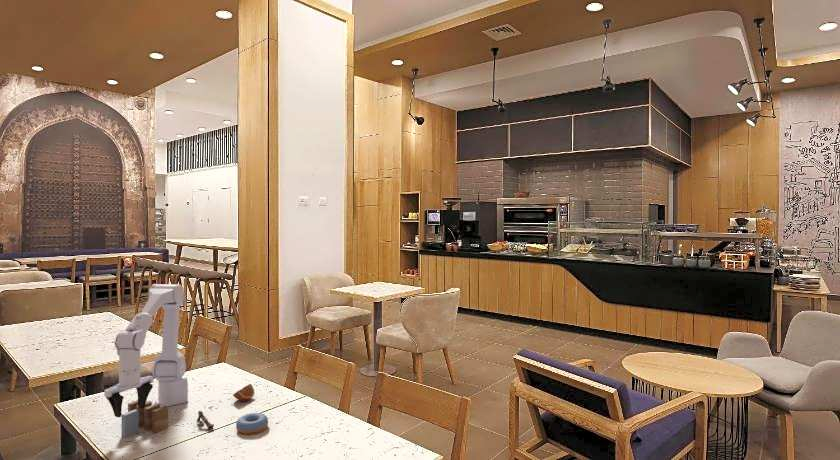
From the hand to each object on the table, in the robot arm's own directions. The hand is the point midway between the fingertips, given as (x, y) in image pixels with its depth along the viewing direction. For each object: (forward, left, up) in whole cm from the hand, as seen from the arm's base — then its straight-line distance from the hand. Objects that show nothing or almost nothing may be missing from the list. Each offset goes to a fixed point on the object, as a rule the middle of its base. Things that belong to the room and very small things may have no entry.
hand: (129, 411), depth 149 cm
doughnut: (-32, +19, -8) cm, 38 cm away
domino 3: (-5, -5, -7) cm, 10 cm away
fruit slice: (-38, -6, -7) cm, 39 cm away
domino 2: (0, 0, -7) cm, 7 cm away
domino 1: (-3, -8, -7) cm, 12 cm away
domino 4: (-6, -1, -7) cm, 10 cm away
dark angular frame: (-20, +9, -8) cm, 23 cm away
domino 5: (-8, +2, -7) cm, 11 cm away
